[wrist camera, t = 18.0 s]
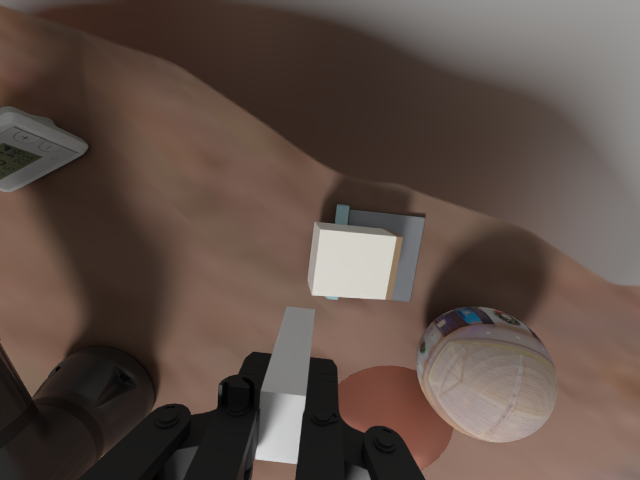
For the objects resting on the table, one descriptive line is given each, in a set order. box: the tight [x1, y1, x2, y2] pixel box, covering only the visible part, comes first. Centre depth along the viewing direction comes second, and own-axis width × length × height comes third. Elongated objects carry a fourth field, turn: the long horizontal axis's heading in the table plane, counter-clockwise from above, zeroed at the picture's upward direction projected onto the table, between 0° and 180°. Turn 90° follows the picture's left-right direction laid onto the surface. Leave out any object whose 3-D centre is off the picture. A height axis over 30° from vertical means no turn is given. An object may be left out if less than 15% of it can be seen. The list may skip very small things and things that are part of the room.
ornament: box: [416, 306, 557, 442], centre depth 38 cm, size 15×15×15 cm
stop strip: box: [326, 204, 349, 300], centre depth 42 cm, size 2×13×2 cm, turn 174°
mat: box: [348, 209, 425, 302], centre depth 43 cm, size 10×12×1 cm
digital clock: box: [0, 106, 88, 192], centre depth 37 cm, size 14×8×9 cm, turn 103°
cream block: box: [307, 222, 403, 300], centre depth 39 cm, size 5×8×10 cm
